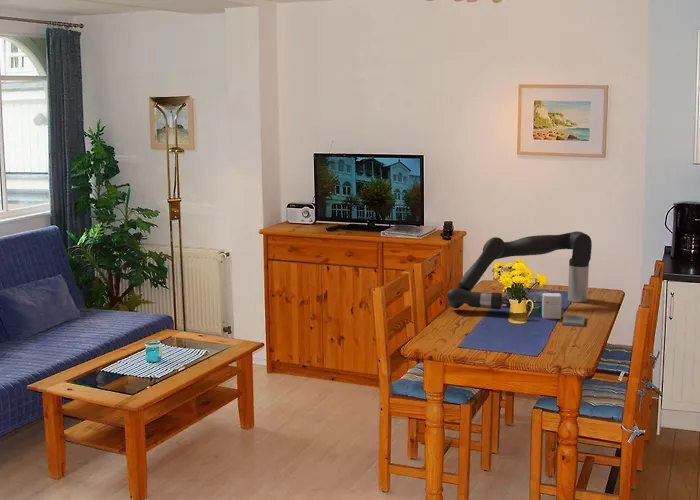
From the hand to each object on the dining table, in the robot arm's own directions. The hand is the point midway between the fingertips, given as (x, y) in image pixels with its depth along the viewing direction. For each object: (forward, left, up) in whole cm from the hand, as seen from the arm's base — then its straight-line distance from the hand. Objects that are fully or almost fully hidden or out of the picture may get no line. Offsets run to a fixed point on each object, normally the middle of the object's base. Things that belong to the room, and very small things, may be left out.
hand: (527, 302), depth 389 cm
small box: (0, +11, -6) cm, 13 cm away
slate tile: (+5, +21, -6) cm, 22 cm away
